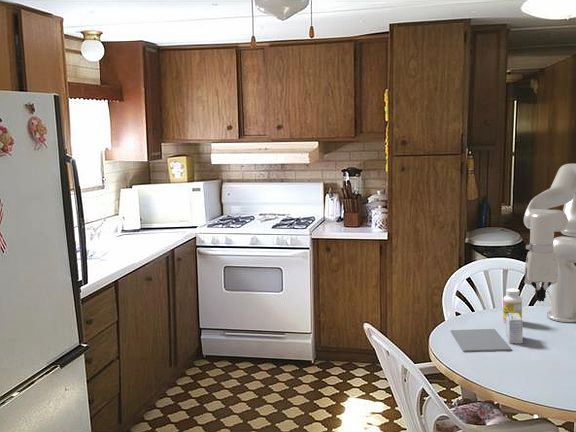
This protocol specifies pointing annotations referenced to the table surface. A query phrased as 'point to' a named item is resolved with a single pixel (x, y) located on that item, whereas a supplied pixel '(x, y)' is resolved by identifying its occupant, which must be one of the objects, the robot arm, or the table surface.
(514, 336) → the medicine box
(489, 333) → the mat
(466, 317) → the table surface
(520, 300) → the supplement bottle
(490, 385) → the table surface
